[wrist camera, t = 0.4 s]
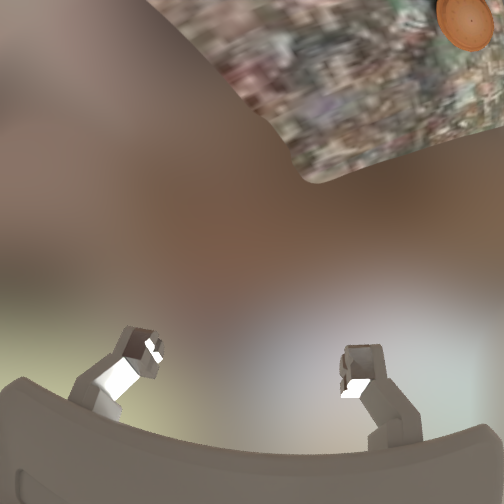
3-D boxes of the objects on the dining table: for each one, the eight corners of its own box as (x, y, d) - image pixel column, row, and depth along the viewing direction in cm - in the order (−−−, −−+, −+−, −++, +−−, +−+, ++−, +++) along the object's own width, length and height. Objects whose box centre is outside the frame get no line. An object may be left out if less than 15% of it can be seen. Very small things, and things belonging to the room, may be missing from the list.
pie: (432, -31, 16) (446, -28, 14) (488, 3, 16) (503, 10, 13) (420, 29, 30) (433, 36, 27) (474, 55, 29) (487, 64, 27)
